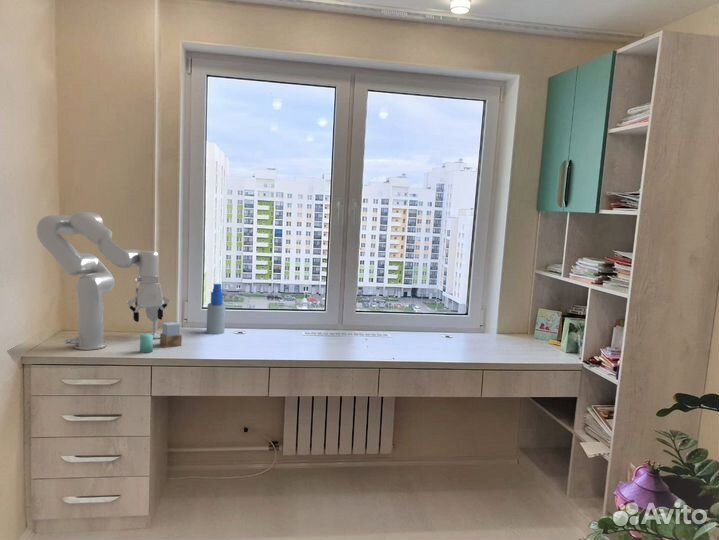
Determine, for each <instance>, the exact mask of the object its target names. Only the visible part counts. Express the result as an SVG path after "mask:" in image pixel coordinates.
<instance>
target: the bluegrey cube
mask: <svg viewBox="0 0 719 540" xmlns="http://www.w3.org/2000/svg"><path fill="white" fill-rule="evenodd" d="M180 326H181V325H180V323H178V322H176V321H171V322H163V323H162V329H161V330H162V331H161V332H162V333H161V334H164V335H165V336H176V335H179V334H180Z"/></svg>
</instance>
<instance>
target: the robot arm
mask: <svg viewBox="0 0 719 540" xmlns="http://www.w3.org/2000/svg"><path fill="white" fill-rule="evenodd" d="M36 234H37V239H38V240H39V242H40V244H42V246H43V247H44V248H45V249H46V250H47V251H48V252H49V254H51V255H52V257H53V258H54V259H55V261H56V262H57V264H59V265H60V266H61V268H62V269H63V270H64V271H65V272H66V274H67V275H69V276H72V277H79V278H78V280H77V281H76V285H75V286H76V287H75V288H76V294H77V299H78V301H77V302H78V310H77V311H78V316H77V317H78V319H77V322H78V323H77V325H78V326H77V327H78V329H77V335H75V337H73V338H66V339H64V343H65V344H66V345H68V344H69V345H73V348H74V349H76V350H82V351H92V350H93V351H94V350H99V349H104V348H106V347H107V345H108V343H107V341H104V317H105V316H104V311H105V310H104V309H105V308H104V307H105V306H104V300H103V297H102V295H103V294H106V293H109V292H111V291H112V290H114V288H115V284H116V282H115V281H116V280H115V278H114V276H113V275H112V273H111V271H110V270H109V269H108V268H107V267H106V266H105V265H104V264H103V262H102V261H101V260H100V259H99V257H97V256H96V255H94V254H92V253H90V252H82V253H81V252H80V251H78V250H77V249H76V248H75V247H74V246H73V244H72V243H71V242H70V241H68V240H67V239H65V238H64V237H63V236H72V235H80V234H81V236H83V237H84V238H85V239H87V240H88V241H89V242H90V243H92V244H94V245H95V246H96V247H97V249H98V251H99V253H100V254H101V255H102V257H104V259H106V260H107V261H108V262H109V263H111V264H112V265H113V266H114V267H115V266H116V267H117V268H120V269H124V270H125V269H132V268H138V277H136V278H135V282H138V283H137V285H136V289H135V297H133V298H132V299H130V300H128V301H126V304H127V306H128V308H129V309H130V310H131V311H132V312H133V316H132V317H133V320H134V322H136V323H138V322H139V321H140V319H139V318H140V312H139V311H140V309H146V308H150V307H158V308H159V309H158V319H159V320H161V321H162V320H163V317H164V312H163V310H164V311H165V308H167V306H168V305H169V302H170V299H169V298H166V297H164V296H163V297H162V295H163V292H162V291H163V290H162V284H161V283H160V282H159V253H158V252H157V251H155V250H141V249H134V248H133V249H123V248H122V247H121V246H119V245H118V244H117V243H115V242H114V241H113V239H112V237H113V232H112V230H111V229H110V228H108V227H107V226H105V225H104V220H103V218H102V216H101V215H99V214H98V213H97V212H93V211H92V212H91V211H78V212H75V213H73V214H71V215H69V214H68V215H63V214H62V215H61V214H59V215H58V214H50V215H46V216H44V217H42V218H40V220H39V221H38V222H37V225H36ZM162 300H164V304H163V305H162ZM133 304H134V305H135V306H133Z"/></svg>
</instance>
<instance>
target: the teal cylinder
mask: <svg viewBox="0 0 719 540" xmlns="http://www.w3.org/2000/svg"><path fill="white" fill-rule="evenodd" d="M153 345H154V339H153V335H151V334H150V333H144V334H141V335H140V337H139V353H141V354H151V353H153V350H154V349H153Z"/></svg>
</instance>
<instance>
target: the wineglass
mask: <svg viewBox="0 0 719 540" xmlns="http://www.w3.org/2000/svg"><path fill="white" fill-rule="evenodd" d="M162 297H164V294H162ZM164 302H165V301H164V300H162V305H163V304H164ZM158 309H159V308H158V307H150V308H145V314H146V318H148V319H149V320H150V321H152V332H150V333H149V334H151V335H153V340H154V339H156V340H157V339H160V334H161V333H159V332H157V321H158V322H159V320H160V319H158ZM164 312H165V309H164V310H163V313H164Z"/></svg>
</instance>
